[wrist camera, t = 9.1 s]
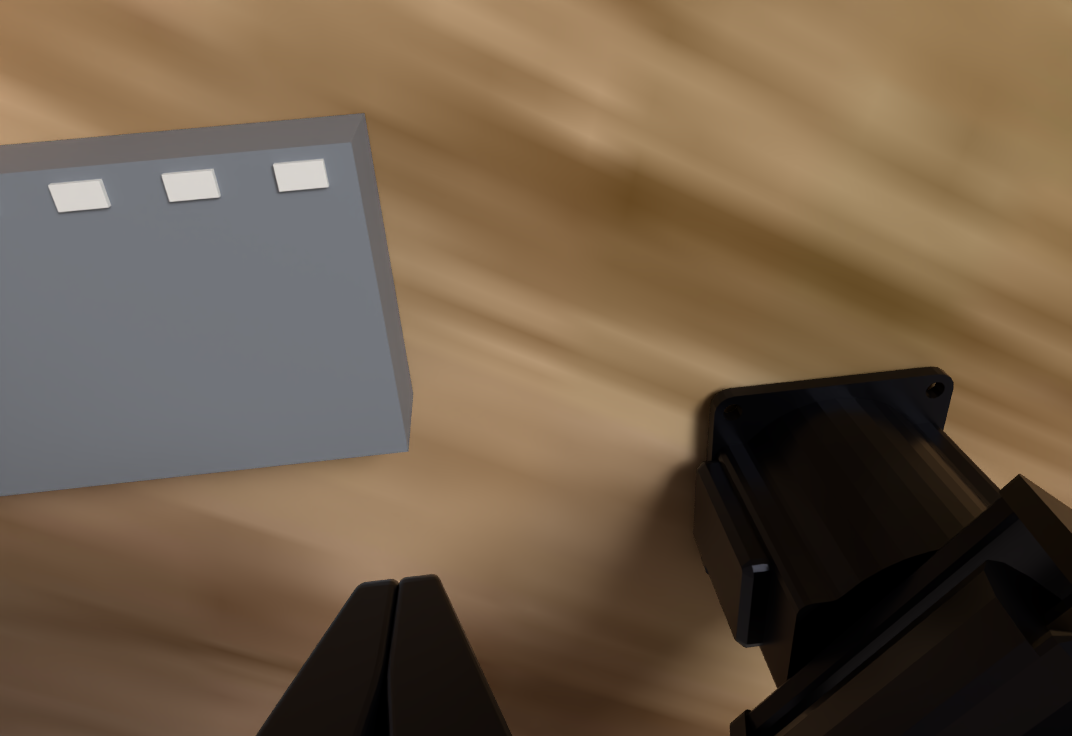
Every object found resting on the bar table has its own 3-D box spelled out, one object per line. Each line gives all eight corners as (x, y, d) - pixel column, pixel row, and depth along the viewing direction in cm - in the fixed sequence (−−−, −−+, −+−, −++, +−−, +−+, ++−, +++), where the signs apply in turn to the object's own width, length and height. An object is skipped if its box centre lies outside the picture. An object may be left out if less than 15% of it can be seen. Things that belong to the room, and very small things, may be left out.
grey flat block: (364, 113, 16) (350, 144, 14) (412, 394, 20) (408, 454, 18) (-333, 174, 16) (-466, 217, 13) (-154, 454, 19) (-235, 525, 17)
